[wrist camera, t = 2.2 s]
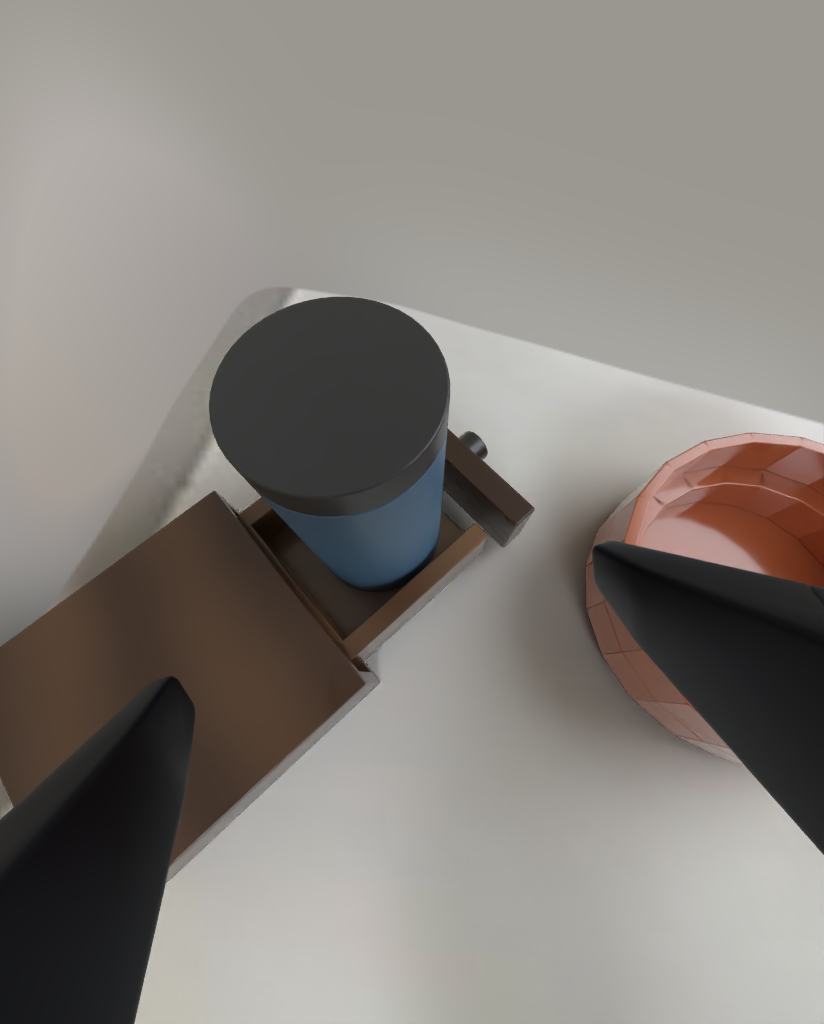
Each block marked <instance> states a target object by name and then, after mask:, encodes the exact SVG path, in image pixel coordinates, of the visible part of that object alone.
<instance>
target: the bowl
mask: <svg viewBox="0 0 824 1024" xmlns="http://www.w3.org/2000/svg"><path fill="white" fill-rule="evenodd" d="M610 540H614V541H618V542H623V543H627V544H632V545H636V546H641V547H645V548H649V549H654V550H658V551H663V552H667V553H672V554H676V555H681V556H685V557H690V558H694V559H698V560H703V561H707V562H712V563H716V564H721V565H725V566H730V567H734V568H739V569H743V570H748V571H752V572H757V573H761V574H765V575H770V576H774V577H779V578H783V579H788V580H792V581H797V582H801V583H805V584H807V585H808V586H811V585H815V586H819V587H824V444H821V443H818V442H815V441H812V440H809V439H806V438H801V437H795V436H784V435H772V434H761V433H745V434H740V435H735V436H729V437H724V438H719V439H713V440H708V441H704V442H701V443H699V444H698V445H696V446H694V447H692V448H690V449H689V450H687V451H685V452H683V453H681V454H680V455H678V456H676V457H674V458H672V459H671V460H669V461H667V462H666V463H664V464H663V465H662V466H661V467H660V468H659V469H658V470H656V471H655V472H654V473H653V474H652V475H651V476H650V477H649V478H648V479H646V480H645V481H644V482H643V483H642V484H641V485H640V486H639V487H638V488H637V489H635V490H634V491H633V492H632V493H631V494H630V495H629V496H628V497H626V498H625V499H624V500H623V501H622V502H621V503H620V504H619V505H618V506H617V508H616V509H615V510H614V511H613V512H612V514H611V515H610V516H609V517H608V518H607V520H606V521H605V522H604V523H603V524H602V526H601V527H600V528H599V530H598V531H597V534H596V537H595V540H594V543H593V546H592V549H593V547H594V546H595V545H597V544H600V543H603V542H607V541H610ZM592 549H591V552H590V555H589V558H588V561H587V564H586V607H587V612H588V615H589V618H590V621H591V624H592V627H593V630H594V633H595V636H596V639H597V642H598V645H599V648H600V651H601V653H602V656H603V657H604V659H605V660H606V662H607V663H608V665H609V666H610V668H611V669H612V671H613V672H614V674H615V675H616V677H617V678H618V680H619V681H620V682H621V684H622V685H623V687H624V688H625V690H626V691H627V693H628V694H629V696H630V697H631V698H632V699H633V700H634V701H635V702H636V703H637V704H639V705H640V706H641V707H642V708H643V709H644V710H646V711H647V712H648V713H649V714H650V715H651V716H652V717H654V718H655V719H656V720H657V721H658V722H659V723H661V724H662V725H663V726H664V727H665V728H666V729H668V730H669V731H670V732H671V733H672V734H674V735H675V736H677V737H679V738H681V739H683V740H685V741H687V742H690V743H692V744H694V745H696V746H698V747H700V748H702V749H704V750H706V751H708V752H711V753H713V754H715V755H717V756H719V757H721V758H724V759H727V760H730V761H734V762H737V763H741V764H743V763H742V762H741V761H740V759H739V758H738V757H737V756H736V755H735V754H734V753H733V752H732V750H731V749H730V748H729V747H728V746H727V745H726V744H725V743H724V741H723V740H722V739H721V738H720V737H719V736H718V735H717V733H716V732H715V731H714V730H713V729H712V728H711V727H710V726H709V724H708V723H707V722H706V721H705V720H704V719H703V718H702V716H701V715H700V714H699V713H698V712H697V711H696V710H695V709H694V707H693V706H692V705H691V704H690V703H689V702H688V701H687V700H686V698H685V697H684V696H683V695H682V694H681V693H680V692H679V690H678V689H677V688H676V687H675V686H674V685H673V684H672V683H671V681H670V680H669V679H668V678H667V677H666V676H665V675H664V673H663V672H662V671H661V670H660V669H659V668H658V667H657V666H656V664H655V663H654V662H653V661H652V660H651V659H650V658H649V657H648V655H647V654H646V653H645V652H644V651H643V650H642V648H641V647H640V646H639V645H638V644H637V642H636V641H635V640H634V638H633V637H632V636H631V634H630V633H629V631H628V630H627V629H626V627H625V626H624V624H623V623H622V622H621V620H620V619H619V617H618V616H617V615H616V613H615V612H614V610H613V609H612V608H611V606H610V605H609V603H608V602H607V601H606V599H605V598H604V596H603V595H602V593H601V592H600V591H599V589H598V588H597V586H596V584H595V581H594V576H593V560H592Z"/></svg>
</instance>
